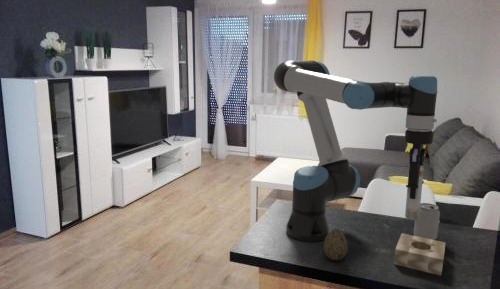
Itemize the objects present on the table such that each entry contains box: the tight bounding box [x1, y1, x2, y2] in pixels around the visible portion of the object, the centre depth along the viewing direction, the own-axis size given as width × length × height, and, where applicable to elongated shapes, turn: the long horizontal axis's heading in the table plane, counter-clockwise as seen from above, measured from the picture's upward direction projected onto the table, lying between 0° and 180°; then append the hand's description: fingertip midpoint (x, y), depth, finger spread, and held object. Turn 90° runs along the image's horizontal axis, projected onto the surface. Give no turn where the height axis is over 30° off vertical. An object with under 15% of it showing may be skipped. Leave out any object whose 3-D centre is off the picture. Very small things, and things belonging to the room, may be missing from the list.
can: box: [413, 202, 441, 240], centre depth 136 cm, size 8×8×12 cm
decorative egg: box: [323, 228, 348, 262], centre depth 119 cm, size 7×7×10 cm
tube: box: [404, 165, 425, 221], centre depth 117 cm, size 4×4×16 cm
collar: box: [393, 232, 446, 277], centre depth 120 cm, size 13×13×5 cm
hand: (413, 206), depth 117 cm, fingers closed on tube, 4 cm apart
